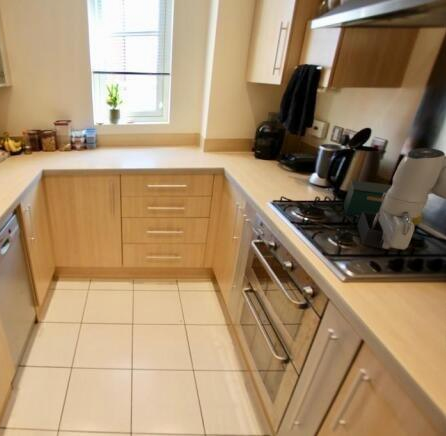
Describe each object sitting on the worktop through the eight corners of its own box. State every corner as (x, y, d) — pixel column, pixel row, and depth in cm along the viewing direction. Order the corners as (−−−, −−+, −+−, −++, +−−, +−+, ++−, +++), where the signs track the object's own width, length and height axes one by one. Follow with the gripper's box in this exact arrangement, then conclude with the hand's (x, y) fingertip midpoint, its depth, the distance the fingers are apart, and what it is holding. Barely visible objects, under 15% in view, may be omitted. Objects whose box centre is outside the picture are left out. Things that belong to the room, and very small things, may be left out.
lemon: (402, 222, 117) (411, 202, 113) (420, 228, 112) (430, 208, 109) (393, 225, 115) (402, 205, 111) (410, 232, 110) (420, 211, 107)
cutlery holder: (386, 234, 110) (398, 207, 105) (395, 255, 99) (409, 226, 94) (355, 228, 113) (365, 202, 108) (361, 248, 102) (372, 220, 97)
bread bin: (385, 210, 125) (396, 185, 120) (391, 222, 117) (402, 196, 112) (342, 204, 131) (351, 180, 126) (345, 214, 123) (354, 189, 118)
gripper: (427, 223, 81) (405, 267, 87) (407, 194, 97) (390, 233, 103) (396, 219, 84) (377, 261, 90) (382, 191, 99) (367, 229, 106)
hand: (384, 246), depth 97 cm, fingers closed
